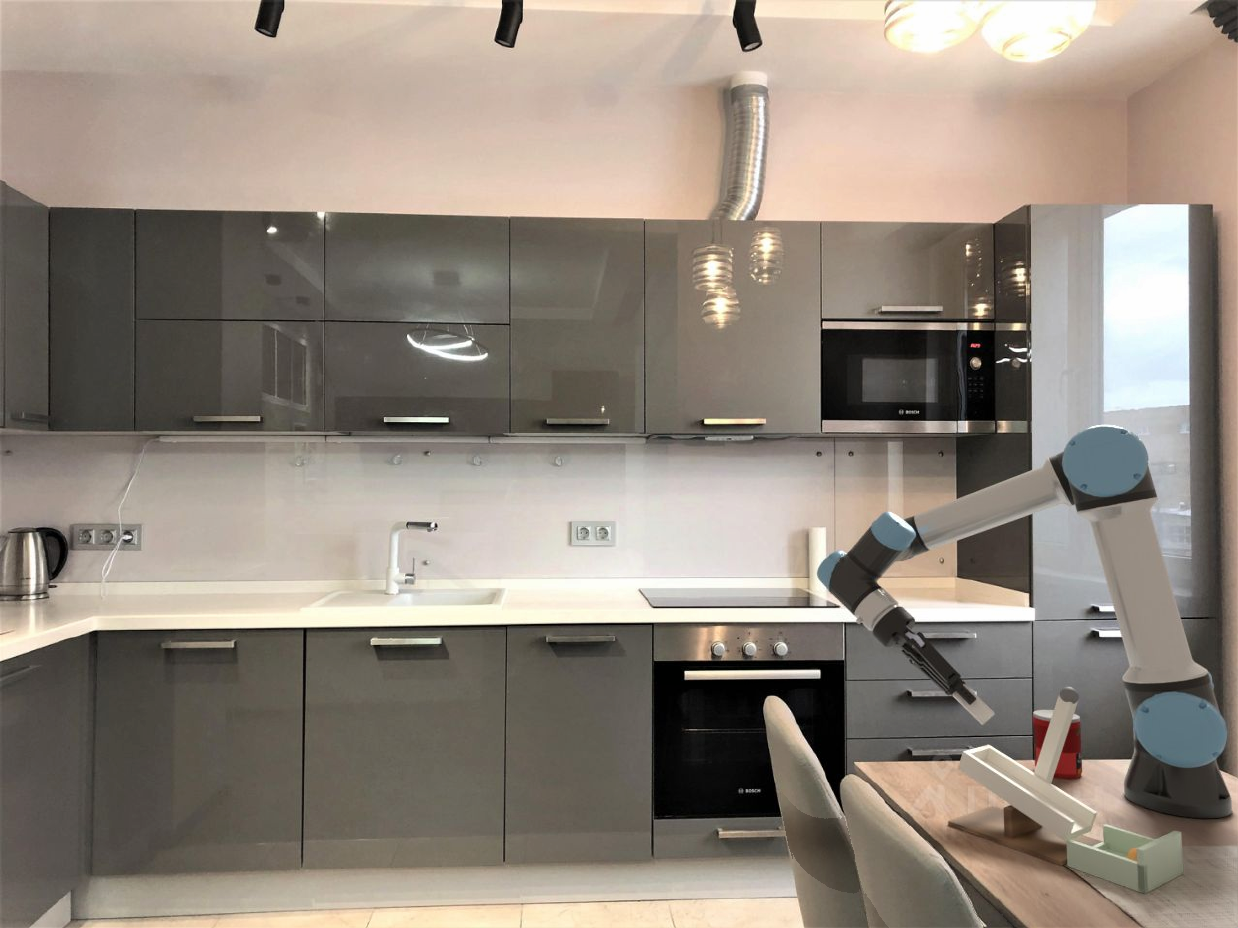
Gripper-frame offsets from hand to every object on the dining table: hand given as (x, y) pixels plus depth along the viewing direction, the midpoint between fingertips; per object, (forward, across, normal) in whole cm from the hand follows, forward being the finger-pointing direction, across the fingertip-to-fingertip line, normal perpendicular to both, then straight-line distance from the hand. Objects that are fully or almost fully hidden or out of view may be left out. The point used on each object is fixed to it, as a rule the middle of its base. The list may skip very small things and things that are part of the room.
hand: (988, 719), depth 136 cm
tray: (+26, +11, -4) cm, 29 cm away
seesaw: (+12, +5, -6) cm, 14 cm away
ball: (+27, +13, -2) cm, 30 cm away
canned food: (+12, -28, +8) cm, 32 cm away
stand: (+15, +3, -10) cm, 19 cm away
